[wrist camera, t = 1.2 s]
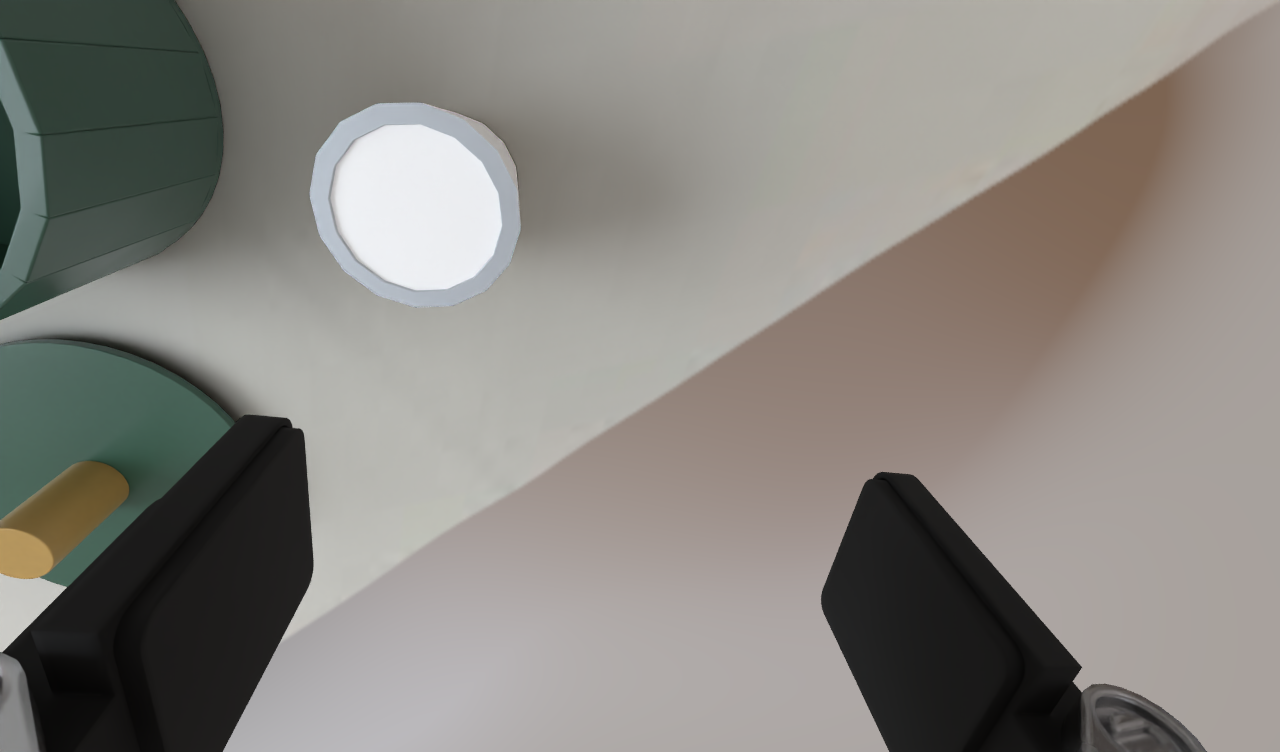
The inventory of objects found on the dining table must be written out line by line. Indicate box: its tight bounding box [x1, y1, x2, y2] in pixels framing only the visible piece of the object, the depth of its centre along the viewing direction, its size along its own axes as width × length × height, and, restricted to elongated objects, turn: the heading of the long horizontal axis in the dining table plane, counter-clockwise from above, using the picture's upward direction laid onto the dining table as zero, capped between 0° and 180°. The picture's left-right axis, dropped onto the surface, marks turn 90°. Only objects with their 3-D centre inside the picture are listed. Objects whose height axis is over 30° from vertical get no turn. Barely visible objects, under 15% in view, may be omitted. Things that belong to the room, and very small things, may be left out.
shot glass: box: [309, 102, 521, 308], centre depth 23 cm, size 7×7×7 cm
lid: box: [0, 339, 235, 587], centre depth 28 cm, size 15×15×6 cm
